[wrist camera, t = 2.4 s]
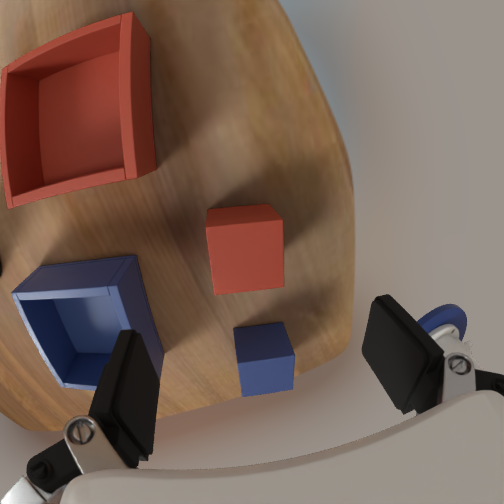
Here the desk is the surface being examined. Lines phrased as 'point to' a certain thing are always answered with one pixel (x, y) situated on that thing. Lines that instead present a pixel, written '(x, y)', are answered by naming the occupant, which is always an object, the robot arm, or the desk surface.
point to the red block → (245, 248)
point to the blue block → (264, 359)
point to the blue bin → (85, 316)
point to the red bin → (77, 112)
